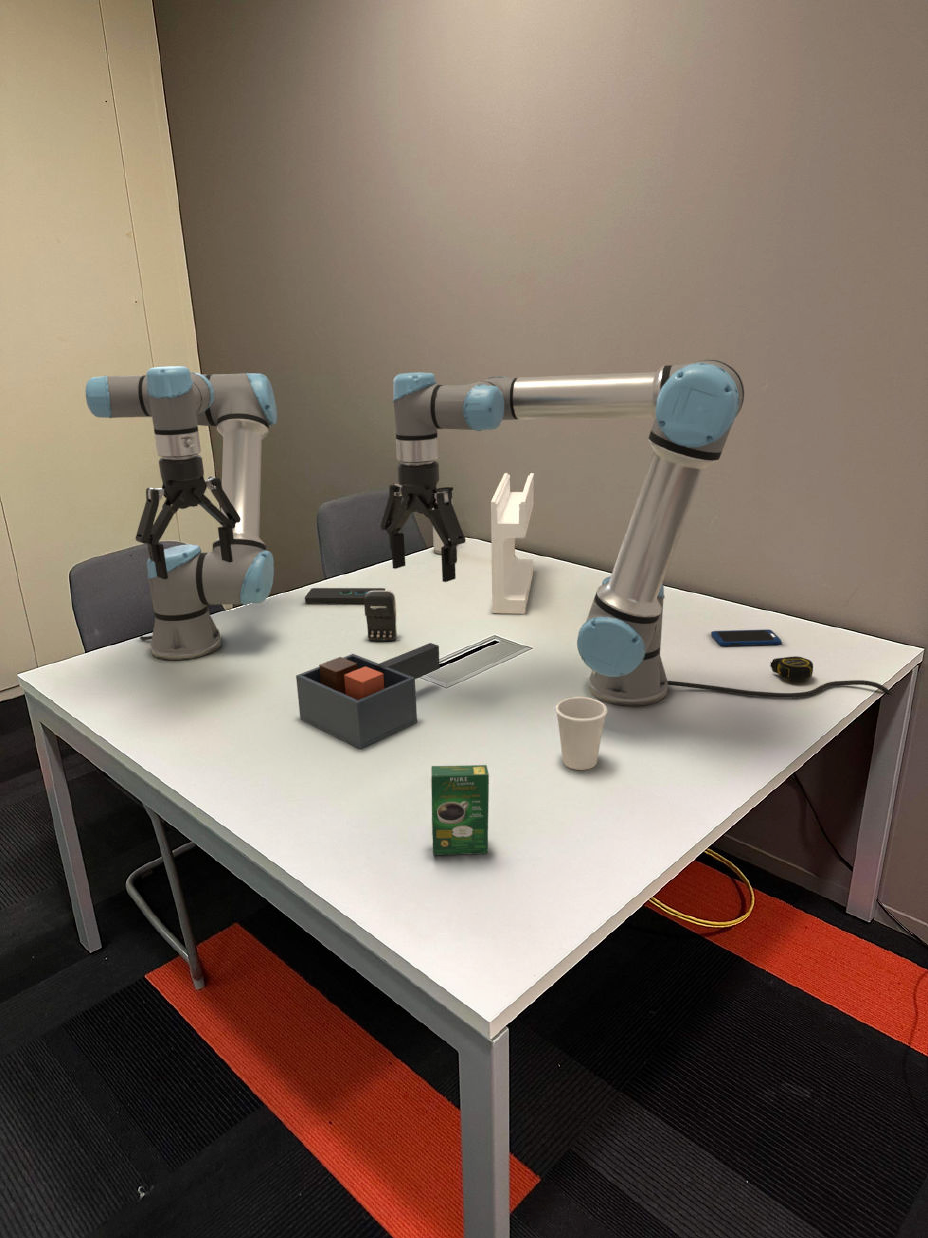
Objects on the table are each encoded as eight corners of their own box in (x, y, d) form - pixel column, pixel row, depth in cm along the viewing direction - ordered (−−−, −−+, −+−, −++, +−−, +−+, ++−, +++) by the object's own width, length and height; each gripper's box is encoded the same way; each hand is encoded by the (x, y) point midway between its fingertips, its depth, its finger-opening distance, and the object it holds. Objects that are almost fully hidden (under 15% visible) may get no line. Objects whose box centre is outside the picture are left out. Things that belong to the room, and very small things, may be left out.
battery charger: (365, 642, 195) (362, 595, 191) (368, 636, 199) (365, 589, 195) (395, 642, 195) (392, 595, 191) (398, 636, 198) (395, 589, 194)
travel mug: (452, 554, 260) (450, 489, 253) (431, 553, 262) (429, 489, 254) (456, 549, 266) (455, 485, 259) (436, 548, 267) (434, 485, 260)
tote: (360, 749, 149) (357, 703, 146) (300, 719, 160) (295, 675, 157) (467, 697, 167) (466, 655, 164) (406, 673, 179) (404, 633, 176)
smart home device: (380, 597, 219) (304, 597, 221) (380, 604, 220) (304, 603, 221) (385, 587, 227) (311, 587, 228) (386, 593, 227) (312, 593, 229)
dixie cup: (592, 779, 138) (594, 723, 134) (546, 766, 142) (546, 712, 138) (612, 756, 144) (615, 703, 141) (567, 744, 148) (569, 692, 145)
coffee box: (488, 842, 122) (487, 762, 118) (490, 854, 120) (488, 773, 115) (432, 844, 122) (429, 764, 117) (432, 857, 119) (429, 775, 115)
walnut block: (340, 721, 157) (336, 672, 154) (323, 713, 161) (319, 664, 157) (361, 712, 161) (357, 663, 157) (344, 704, 164) (340, 656, 160)
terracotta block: (365, 733, 153) (362, 682, 149) (348, 724, 156) (344, 674, 153) (386, 723, 156) (383, 673, 153) (368, 715, 159) (365, 666, 156)
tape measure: (799, 669, 175) (801, 652, 174) (818, 683, 169) (820, 665, 168) (769, 672, 174) (770, 655, 173) (786, 686, 168) (788, 669, 167)
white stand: (505, 570, 244) (504, 473, 234) (533, 571, 243) (533, 473, 233) (492, 612, 211) (490, 501, 202) (524, 613, 210) (524, 501, 200)
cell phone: (782, 644, 188) (782, 641, 188) (719, 646, 188) (719, 643, 188) (770, 632, 195) (771, 629, 195) (710, 633, 195) (710, 630, 195)
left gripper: (123, 469, 143) (143, 589, 150) (251, 448, 159) (263, 557, 167) (103, 464, 148) (123, 581, 155) (229, 444, 164) (241, 551, 172)
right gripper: (482, 465, 149) (485, 580, 156) (387, 452, 165) (393, 557, 173) (453, 472, 144) (457, 591, 151) (357, 457, 160) (365, 566, 168)
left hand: (195, 569), depth 161 cm, fingers open, 13 cm apart
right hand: (423, 573), depth 162 cm, fingers open, 13 cm apart
